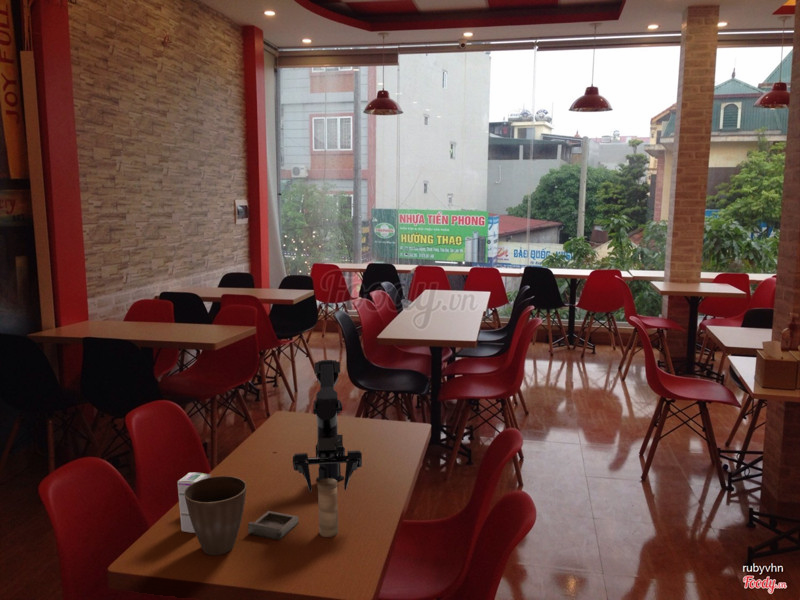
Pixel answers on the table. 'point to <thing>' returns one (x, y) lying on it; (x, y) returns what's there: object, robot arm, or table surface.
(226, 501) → the plant pot
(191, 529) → the syrup box
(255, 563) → the table surface
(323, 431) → the robot arm
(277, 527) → the grey tray
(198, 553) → the table surface
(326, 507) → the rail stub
